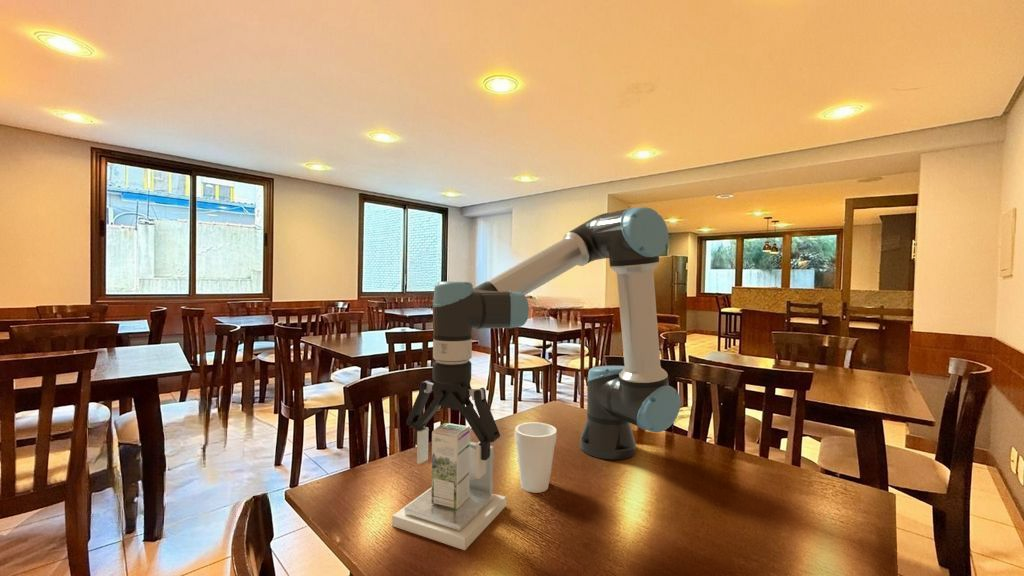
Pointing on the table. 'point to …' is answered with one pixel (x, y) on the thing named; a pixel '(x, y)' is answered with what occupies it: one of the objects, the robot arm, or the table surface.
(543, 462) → the foam cup
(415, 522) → the scale base
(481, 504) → the scale pan
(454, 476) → the syrup box
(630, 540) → the table surface
